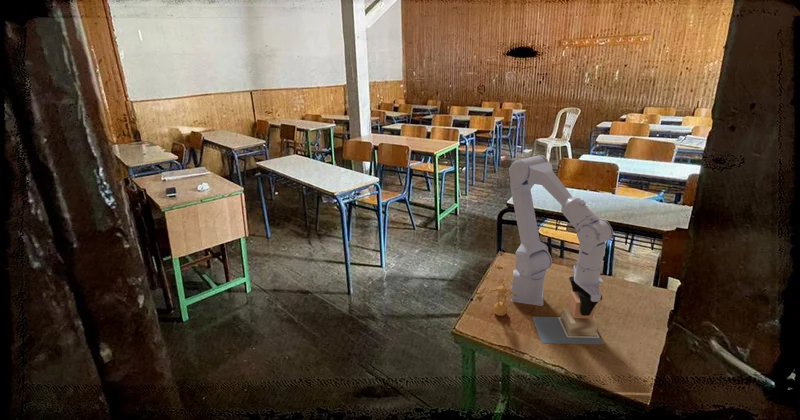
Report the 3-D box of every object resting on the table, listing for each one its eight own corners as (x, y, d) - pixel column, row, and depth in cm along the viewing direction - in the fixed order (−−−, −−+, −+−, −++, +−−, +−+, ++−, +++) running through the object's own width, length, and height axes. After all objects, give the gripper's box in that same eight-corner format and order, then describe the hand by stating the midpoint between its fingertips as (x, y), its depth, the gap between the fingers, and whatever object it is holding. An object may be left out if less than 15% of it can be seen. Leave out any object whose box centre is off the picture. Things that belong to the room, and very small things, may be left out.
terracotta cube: (573, 318, 111) (576, 302, 109) (567, 306, 115) (570, 291, 113) (592, 318, 110) (596, 302, 109) (586, 307, 115) (589, 291, 113)
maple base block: (569, 335, 112) (571, 323, 110) (561, 319, 118) (563, 307, 117) (595, 335, 111) (598, 323, 110) (586, 319, 118) (588, 307, 116)
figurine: (514, 312, 122) (518, 277, 118) (514, 325, 117) (518, 289, 112) (485, 308, 124) (488, 274, 119) (484, 321, 119) (487, 285, 114)
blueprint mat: (541, 344, 110) (542, 342, 109) (531, 317, 120) (532, 316, 119) (604, 345, 109) (604, 344, 108) (588, 318, 119) (589, 317, 119)
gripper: (617, 280, 100) (607, 325, 105) (594, 251, 114) (586, 293, 119) (587, 280, 101) (578, 325, 106) (568, 251, 114) (561, 292, 119)
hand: (581, 308), depth 112 cm, fingers closed on terracotta cube, 5 cm apart
